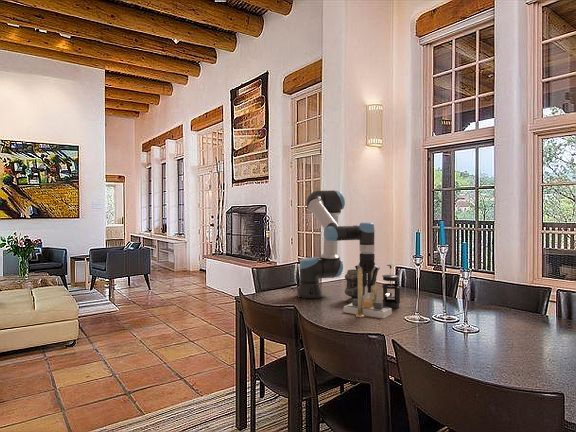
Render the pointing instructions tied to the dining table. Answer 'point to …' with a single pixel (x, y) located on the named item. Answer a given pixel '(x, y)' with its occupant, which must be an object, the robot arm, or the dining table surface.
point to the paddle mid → (367, 303)
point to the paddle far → (378, 305)
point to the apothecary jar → (352, 284)
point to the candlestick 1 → (360, 294)
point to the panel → (369, 311)
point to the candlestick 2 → (373, 290)
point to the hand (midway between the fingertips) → (367, 298)
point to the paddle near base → (355, 302)
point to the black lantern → (390, 302)
